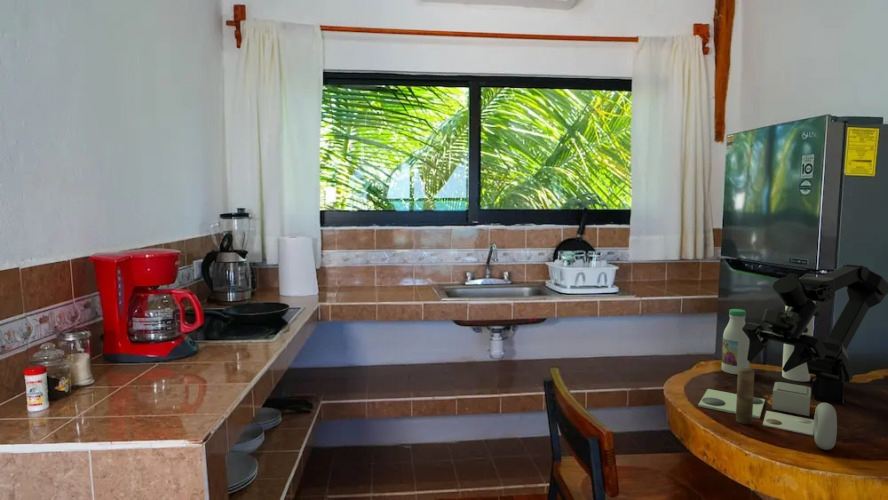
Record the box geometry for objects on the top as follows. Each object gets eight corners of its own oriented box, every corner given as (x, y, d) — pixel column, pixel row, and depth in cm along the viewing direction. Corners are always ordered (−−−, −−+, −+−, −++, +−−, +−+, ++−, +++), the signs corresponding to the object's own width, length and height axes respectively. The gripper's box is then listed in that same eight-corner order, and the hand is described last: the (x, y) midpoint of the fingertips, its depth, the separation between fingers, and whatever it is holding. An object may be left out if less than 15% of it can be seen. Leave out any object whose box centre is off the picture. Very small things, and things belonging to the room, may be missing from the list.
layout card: (813, 421, 128) (814, 419, 128) (813, 435, 120) (813, 434, 120) (766, 411, 134) (766, 410, 134) (762, 425, 126) (762, 423, 126)
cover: (809, 406, 138) (811, 386, 137) (809, 416, 131) (810, 395, 131) (774, 399, 142) (775, 380, 142) (771, 408, 136) (772, 388, 135)
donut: (836, 459, 109) (839, 413, 108) (816, 455, 111) (819, 410, 110) (830, 440, 118) (833, 397, 117) (812, 437, 119) (814, 395, 118)
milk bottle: (742, 368, 170) (744, 307, 168) (753, 375, 162) (756, 312, 160) (717, 367, 170) (719, 307, 169) (727, 375, 163) (730, 312, 161)
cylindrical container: (807, 375, 162) (811, 296, 160) (812, 382, 155) (816, 300, 153) (780, 372, 165) (784, 294, 163) (784, 379, 158) (788, 298, 156)
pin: (752, 420, 129) (755, 369, 128) (751, 425, 126) (753, 373, 125) (736, 417, 131) (738, 366, 130) (734, 422, 128) (737, 370, 127)
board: (764, 401, 141) (764, 398, 141) (759, 418, 130) (759, 415, 130) (707, 390, 149) (707, 388, 149) (698, 406, 138) (698, 403, 138)
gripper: (748, 292, 140) (717, 337, 136) (822, 304, 122) (789, 356, 119) (766, 318, 143) (737, 362, 140) (840, 333, 126) (809, 384, 123)
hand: (765, 365), depth 130 cm, fingers open, 9 cm apart
